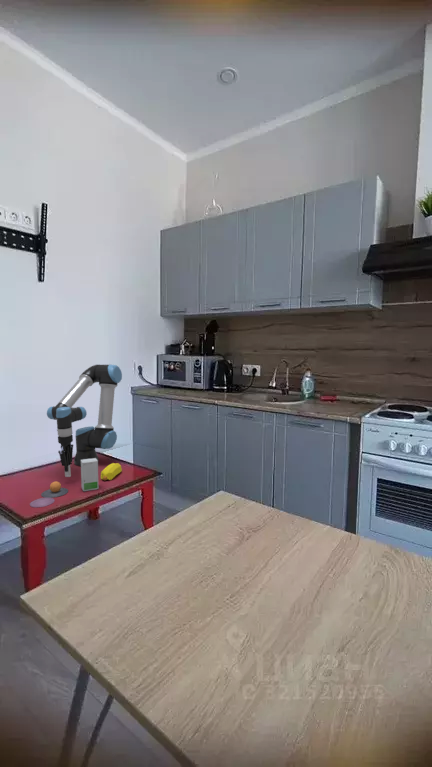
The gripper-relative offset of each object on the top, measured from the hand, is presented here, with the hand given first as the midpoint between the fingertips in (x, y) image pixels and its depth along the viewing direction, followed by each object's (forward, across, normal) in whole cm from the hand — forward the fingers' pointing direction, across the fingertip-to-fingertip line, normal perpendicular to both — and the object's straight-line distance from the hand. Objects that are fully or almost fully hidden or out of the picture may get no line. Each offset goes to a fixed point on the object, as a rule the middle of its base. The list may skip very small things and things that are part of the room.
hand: (67, 476), depth 207 cm
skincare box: (+4, +8, +16) cm, 18 cm away
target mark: (+3, +15, 0) cm, 15 cm away
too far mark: (+3, +27, 0) cm, 27 cm away
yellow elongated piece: (+4, -11, +21) cm, 24 cm away
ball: (+1, +13, 0) cm, 13 cm away
